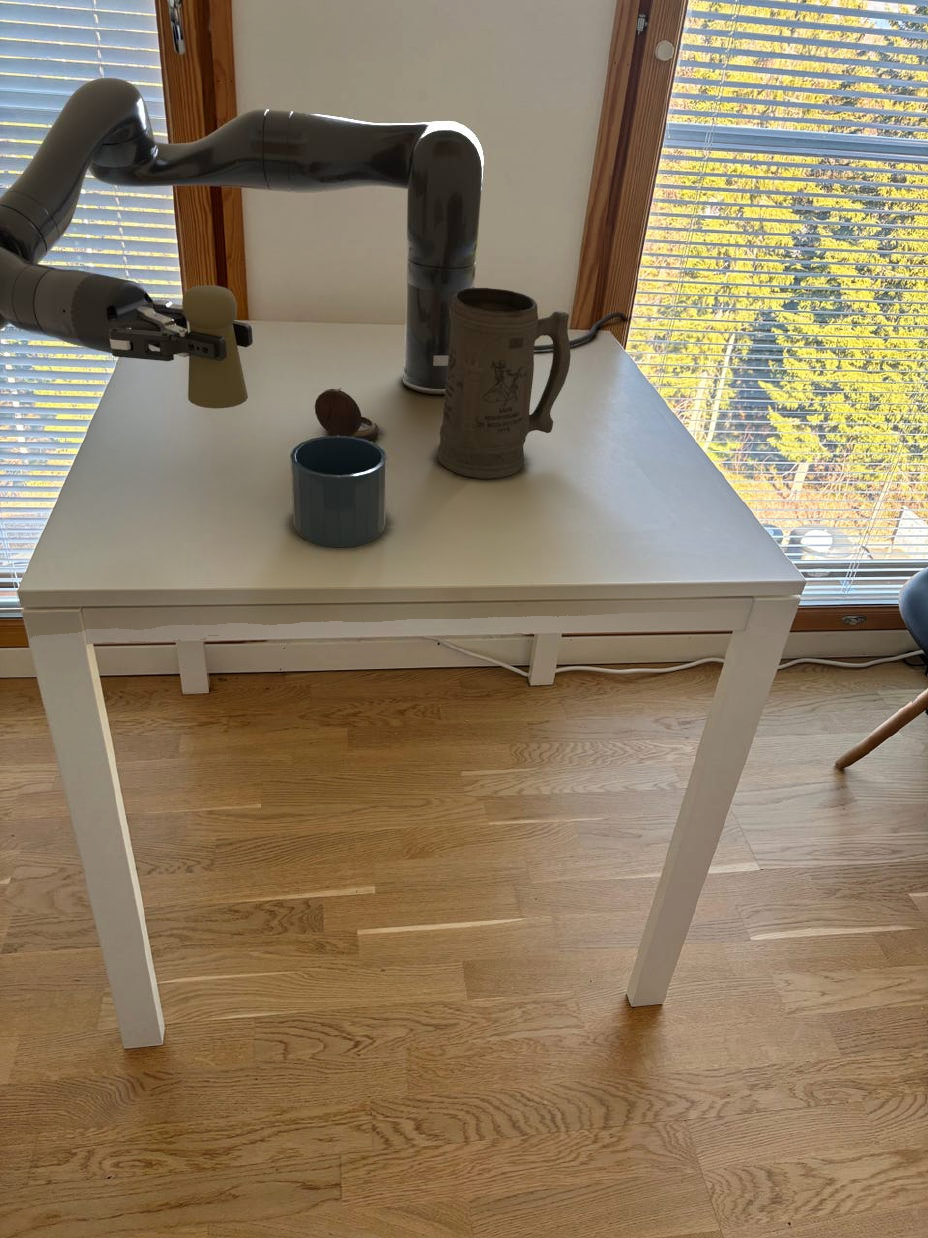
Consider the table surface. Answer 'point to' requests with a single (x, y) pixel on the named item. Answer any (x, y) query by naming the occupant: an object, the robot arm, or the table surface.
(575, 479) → the table surface
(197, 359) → the cork
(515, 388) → the beer stein
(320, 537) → the tumbler
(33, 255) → the robot arm
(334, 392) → the compass
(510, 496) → the table surface
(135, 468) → the table surface
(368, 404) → the table surface
